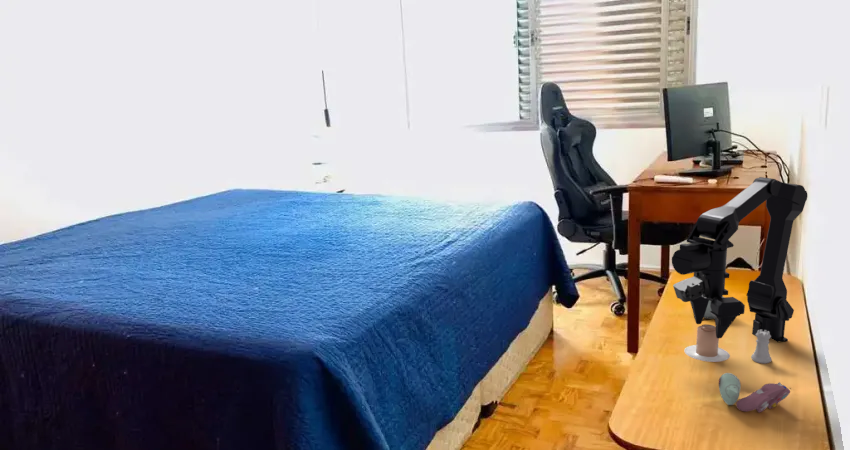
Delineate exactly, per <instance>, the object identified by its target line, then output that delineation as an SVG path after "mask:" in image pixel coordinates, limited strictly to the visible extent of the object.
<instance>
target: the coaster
mask: <svg viewBox="0 0 850 450" xmlns="http://www.w3.org/2000/svg"><path fill="white" fill-rule="evenodd" d="M684 354H685V355H687V356H688V357H690V358H693V359H695V360H698V361H703V362H708V363H709V362H710V363H713V362H715V363H717V362H725V361H726V360H728V359H730V357H731V355H730V353H729V352H728V351H727V350H725V349H724V348H722V347H718V355H717V356H715V357H705V356H701V355H699V354H697V353H696V344H693V345H688V346H687V347H685V348H684Z"/></svg>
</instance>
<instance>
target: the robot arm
mask: <svg viewBox="0 0 850 450" xmlns="http://www.w3.org/2000/svg"><path fill="white" fill-rule="evenodd" d="M807 200H808V192H807V190H806V188H805V186H803V185H802V184H796V183H788V182H782V181H780V180H777V179H776V178H769V177H764V176H763V177H762V176H759V177H756V178H755V179H754V180H753V182H752V183H751V184H750V185H749V186H747V187H746V188H745V189H743V190H742V191H741V192H740V193H738V194H737V195H736V196H734V197H733V198H732V199H731V200H729V201H728V202H727V203H725V204H723V205H721V206H719V207H715V208H712V209H709V210H707V211H705V212H703V213H702V214H700V216H699V217H698V218H697V221H696V222H695V224H694V226H693V228H692V230H691V232H690V233H689V235H688V237H687V239H686V243H680V244H679V249H677V250H676V251H675V252H674V253H673V255H672V257H671V266H672V267H673V269H674V271H675V272H677V273H678V274H679V275H689V274H690V275H691V274H693V276H691V277H688V278H686V279H682V280H681V281H679V282H678V281H677V282H675V283H674V284H673V285H672V286H673V291H674V293H675V297H676V299H680V300H681V301H682V302H683V303H688V302H690V306H691V310H692V313H693V316H694V321H695V324H696V325H702V322H703V320H704V319H705V318H704V315H705V312H706V308H707V305H708V302H709V300H710V301H711V304H710V307H711V310H712V311H710V313H711V314H712V315H713V316H714V317H715V319H714V320H715V321H714V322H715V323H714V324H715V325H714V326H715V327H716V337H717V338H719V339H722V338H723V337H724V335H725V333H726V332H727V331H728V329H729V328H730V326H731V325H732V324H733V322H734V321H735V319H737V317H740V316H741V315H744V314H745V311H746V310H745V308H746V305H745V303H743V301H741V300H739V299H737V298H735V297H734V296H729V290H728V289H725V285H726V279H729V278H730V273H729V272H727V258H728V257H727V256H728V255H727V254H728V249H730V248H733V247H734V246H735V245H734V243H733V242H731V240H730V239H731V238H732V237H733V236H734V235H735V233H736V232H737V231H738V230H739V223H740V222H741V221H742V220H743V219H745V218H747V216H748V215H750V214H751V213H752V212H753V211H754V210H756V209H757V208H758V207H759V206H760V205H762V204H763V203H764V202H765V207H766V210H767V212H768V215H769V217H770V221H769V226H768V231H767V235H766V241H765V247H764V251H763V258H762V263H761V268H760V273H759V275H758V276H757V277H756V278H755V279H752V280H750V281H748V282H749V283H748V289H747V293H746V298H747V299H746V300H747V304H748V308H749V312H750V313H754V319H753V321H752V330H751V331H752V332H751V334H752V335H753V336H755V337H756V335H755V334H756V333H757V331H758V330H762V332H764V330H767V331H769V332H770V335H771V338H770V339H771V340H772V341H775V342H776V343H783V342H789V339H788V338H786V337H785V331H786V329H785V328H786V322H789V321H790V319H792V317H793V315H794V311H795V309H794V308H793V307H792V306H791V304H790V303H789V301H788V300H787V296H788V289H787V287H786V284H785V281H784V279H783V275H784V270H785V266H786V260H787V256H788V251H789V245H790V240H791V235H792V230H793V225H794V221H795V220H796V219H797V218H798V217H799V216H800V215H801V214H802V212H803V211H804V208H805V205H806V203H807ZM725 296H728V297H725ZM722 297H725V298H722ZM759 332H760V331H759ZM770 339H769V340H770Z"/></svg>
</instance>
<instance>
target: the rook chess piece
mask: <svg viewBox="0 0 850 450" xmlns="http://www.w3.org/2000/svg"><path fill="white" fill-rule="evenodd" d="M759 331H760V332H759ZM755 335H756V336H755ZM755 335H754V336H755V337H756V338H757V339H756V340H755V342H756V347H755V350H754V352H753V353H752V354H751V356H750V358H751V359H752V361H753V362H755V363H758V364H769V363H771V362H772V357H771V354H770V351H769V344H770V338H771V335H770V332H769V331H767V330H764V332H762V330H758V331H757V333H756V334H755Z"/></svg>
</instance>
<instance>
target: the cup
mask: <svg viewBox="0 0 850 450" xmlns="http://www.w3.org/2000/svg"><path fill="white" fill-rule="evenodd" d="M696 329H697V330H696V344H695V345H696V353H697V354H699V355H701V356H705V357H715V356H717V355H718V348H719V341H720V340H719V339H720V338H717V337H716V326H715V325H712V324H707V323H705V324H700V325H699V326H697V328H696Z"/></svg>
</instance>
